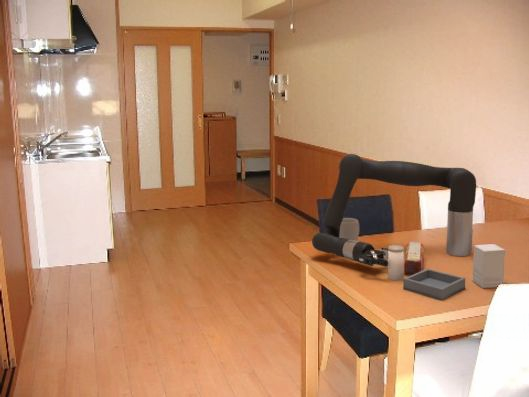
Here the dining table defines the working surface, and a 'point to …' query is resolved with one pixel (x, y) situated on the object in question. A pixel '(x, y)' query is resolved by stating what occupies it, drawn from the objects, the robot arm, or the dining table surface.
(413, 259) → the snack package
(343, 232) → the mug
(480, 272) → the supplement box
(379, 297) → the dining table surface
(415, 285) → the tray
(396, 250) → the canister
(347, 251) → the robot arm
